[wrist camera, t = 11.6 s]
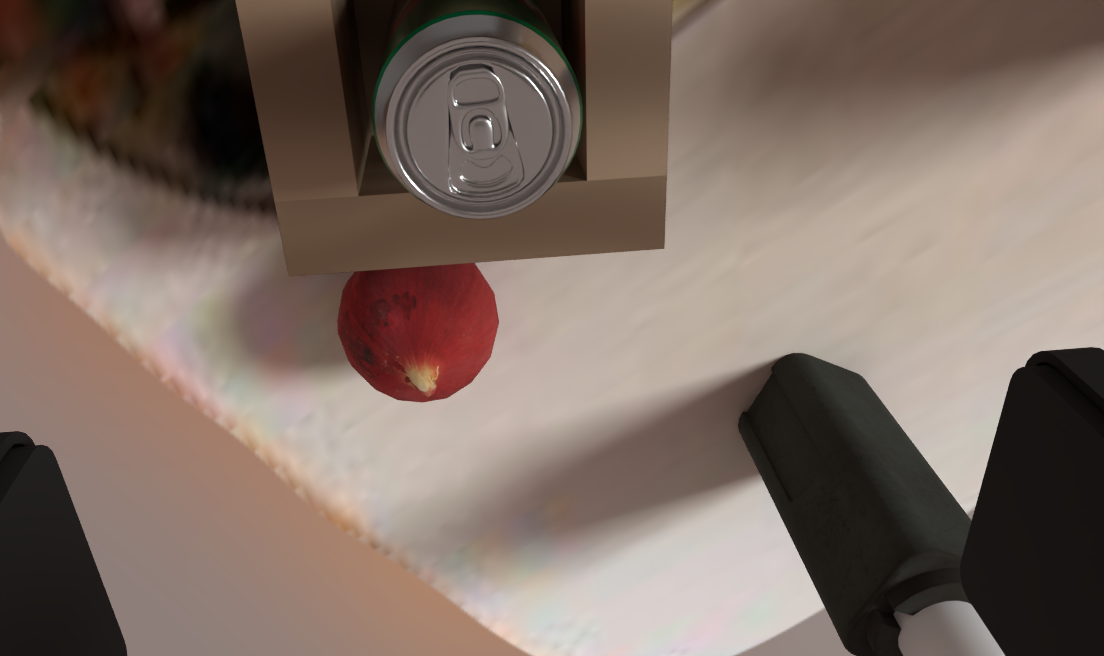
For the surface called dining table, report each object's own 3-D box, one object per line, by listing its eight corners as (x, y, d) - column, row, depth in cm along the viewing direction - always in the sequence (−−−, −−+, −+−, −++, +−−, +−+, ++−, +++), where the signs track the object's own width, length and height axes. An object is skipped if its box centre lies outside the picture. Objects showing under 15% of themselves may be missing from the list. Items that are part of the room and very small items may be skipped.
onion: (338, 326, 37) (315, 442, 31) (358, 197, 35) (339, 292, 28) (476, 348, 39) (485, 464, 32) (506, 225, 36) (522, 323, 29)
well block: (254, -162, 29) (205, -156, 23) (629, -176, 30) (678, -173, 24) (315, 195, 35) (288, 276, 29) (625, 174, 36) (664, 248, 30)
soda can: (406, 108, 32) (391, 248, 22) (378, -43, 30) (347, 35, 19) (546, 90, 33) (597, 220, 22) (530, -62, 30) (580, 5, 20)
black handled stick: (785, 345, 40) (1187, 959, 19) (877, 380, 42) (1346, 986, 20) (728, 433, 42) (1029, 1077, 21) (817, 463, 44) (1185, 1093, 22)
